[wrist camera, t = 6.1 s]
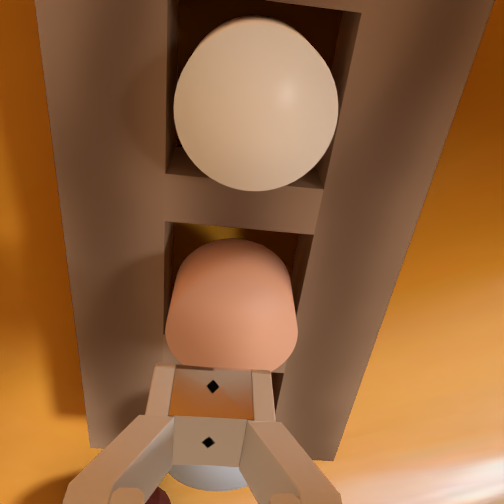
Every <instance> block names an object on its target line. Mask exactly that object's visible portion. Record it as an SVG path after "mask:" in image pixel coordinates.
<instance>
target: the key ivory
mask: <svg viewBox="0 0 504 504" xmlns="http://www.w3.org/2000/svg"><path fill="white" fill-rule="evenodd" d="M337 118H338V97H337V90H336V86H335V82H334V79H333V77H332V74H331V72H330V70H329V68H328V66H327V65H326V63H325V61H324V60H323V58H322V57H321V56H320V54H319V53H318V52H317V51H316V50H315V49H314V47H313V46H312V45H311V44H310V43H309V42H308V41H307V40H306V39H305V38H304V37H303V36H302V35H301V34H300V33H299V32H298V31H297V30H296V29H294V28H293V27H292V26H290V25H288V24H286V23H285V22H283V21H280V20H278V19H275V18H272V17H267V16H259V15H250V16H242V17H238V18H234V19H231V20H229V21H226V22H224V23H222V24H221V25H219V26H217V27H216V28H214V29H213V30H212V31H211V32H209V33H208V34H207V35H206V36H205V37H204V38H203V39H202V40H201V42H200V43H199V45H198V46H197V47H196V49H195V51H194V52H193V54H192V55H191V57H190V59H189V60H188V62H187V64H186V65H185V67H184V69H183V71H182V73H181V75H180V78H179V81H178V83H177V87H176V91H175V96H174V120H175V126H176V130H177V134H178V137H179V140H180V142H181V144H182V146H183V148H184V150H185V151H186V153H187V155H188V156H189V158H190V159H191V160H192V161H193V163H194V164H195V165H196V166H197V167H198V168H199V169H200V170H201V171H202V172H203V173H205V174H206V175H207V176H209V177H210V178H212V179H213V180H215V181H217V182H219V183H221V184H223V185H225V186H228V187H231V188H234V189H238V190H245V191H267V190H272V189H276V188H279V187H282V186H285V185H288V184H290V183H292V182H294V181H296V180H297V179H299V178H300V177H302V176H304V175H305V174H306V173H307V172H308V171H310V170H311V169H312V168H313V167H314V166H315V165H316V164H317V163H318V162H319V160H320V159H321V158H322V156H323V155H324V153H325V152H326V150H327V148H328V147H329V145H330V142H331V140H332V138H333V135H334V132H335V128H336V124H337Z"/></svg>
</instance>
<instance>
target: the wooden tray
mask: <svg viewBox="0 0 504 504" xmlns="http://www.w3.org/2000/svg"><path fill="white" fill-rule="evenodd" d="M34 1H35V9H36V17H37V25H38V33H39V41H40V49H41V57H42V65H43V73H44V81H45V89H46V97H47V105H48V113H49V121H50V129H51V137H52V145H53V153H54V161H55V169H56V177H57V185H58V193H59V201H60V209H61V217H62V225H63V233H64V241H65V249H66V257H67V265H68V273H69V281H70V289H71V297H72V305H73V313H74V321H75V329H76V337H77V345H78V353H79V361H80V369H81V377H82V385H83V393H84V400H85V408H86V416H87V424H88V432H89V440H90V448H101V449H105V448H106V447H107V446H108V445H109V444H110V443H111V442H112V441H113V440H114V439H115V438H116V437H117V436H118V435H119V434H120V433H121V432H122V431H123V430H124V429H125V428H126V427H127V426H128V425H129V424H130V423H131V422H132V421H133V420H134V419H135V418H136V417H137V416H138V415H145V412H146V407H147V402H148V397H149V392H150V387H151V383H152V378H153V373H154V368H155V366H156V363H162V364H173V365H176V364H177V365H182V364H181V363H180V362H179V361H178V360H177V359H176V358H175V356H174V355H173V354H172V352H171V350H170V349H169V346H168V344H167V340H166V334H165V329H166V322H167V317H168V313H169V308H170V303H171V299H172V273H173V232H174V222H180V223H191V224H202V225H213V226H224V227H234V228H245V229H256V230H267V231H278V232H289V233H299V237H298V242H297V248H296V253H295V258H294V263H293V268H292V273H291V278H290V281H291V287H292V294H293V301H294V307H295V314H296V320H297V327H298V336H297V342H296V345H295V348H294V350H293V352H292V353H291V355H290V356H289V357H288V359H287V360H286V361H285V362H284V363H283V364H282V365H280V366H279V367H278V368H276V369H275V370H273V371H272V376H271V378H272V388H273V398H274V408H275V418H276V422H282V424H283V425H284V426H285V427H286V428H287V430H288V431H289V432H290V433H291V435H292V436H293V437H294V438H295V439H296V441H297V442H298V443H299V444H300V446H301V447H302V448H303V449H304V450H305V452H306V453H307V454H308V455H309V457H310V458H311V459H312V460H322V461H334V458H335V455H336V452H337V449H338V447H339V444H340V441H341V438H342V435H343V432H344V429H345V427H346V424H347V421H348V418H349V415H350V412H351V409H352V407H353V404H354V401H355V398H356V395H357V392H358V389H359V387H360V384H361V381H362V378H363V375H364V372H365V369H366V367H367V364H368V361H369V358H370V355H371V352H372V349H373V347H374V344H375V341H376V338H377V335H378V332H379V329H380V327H381V324H382V321H383V318H384V315H385V312H386V309H387V307H388V304H389V301H390V298H391V295H392V292H393V289H394V287H395V284H396V281H397V278H398V275H399V272H400V269H401V267H402V264H403V261H404V258H405V255H406V252H407V249H408V247H409V244H410V241H411V238H412V235H413V232H414V229H415V227H416V224H417V221H418V218H419V215H420V212H421V210H422V207H423V204H424V201H425V198H426V195H427V192H428V190H429V187H430V184H431V181H432V178H433V175H434V172H435V170H436V167H437V164H438V161H439V158H440V155H441V152H442V150H443V147H444V144H445V141H446V138H447V135H448V132H449V130H450V127H451V124H452V121H453V118H454V115H455V112H456V110H457V107H458V104H459V101H460V98H461V95H462V92H463V90H464V87H465V84H466V81H467V78H468V75H469V72H470V70H471V67H472V64H473V61H474V58H475V55H476V52H477V50H478V47H479V44H480V41H481V38H482V35H483V32H484V30H485V27H486V24H487V21H488V18H489V15H490V12H491V10H492V7H493V4H494V1H495V0H267V1H275V2H282V3H290V4H298V5H305V6H313V7H321V8H328V9H336V10H343V12H342V17H341V22H340V27H339V33H338V38H337V43H336V48H335V53H334V58H333V63H332V68H331V74H332V77H333V79H334V82H335V86H336V90H337V97H338V118H337V124H336V128H335V132H334V135H333V138H332V140H331V142H330V145H329V147H328V148H327V150H326V152H325V153H324V155H323V156H322V158H321V159H320V160H319V162H318V163H317V164H316V165H315V166H314V167H313V168H312V169H311V170H310V171H308V172H307V173H306V174H305V175H304V176H302V177H300V178H299V179H297V180H296V181H294V182H292V183H290V184H288V185H285V186H282V187H279V188H276V189H272V190H267V191H245V190H238V189H234V188H231V187H228V186H225V185H223V184H221V183H219V182H217V181H215V180H213V179H212V178H210V177H209V176H207V175H206V174H205V173H203V172H202V171H201V170H200V169H199V168H198V167H197V166H196V165H195V164H194V163H193V161H192V160H191V159H190V158H189V156H188V155H187V153H186V151H185V150H184V148H182V147H176V126H175V120H174V96H175V91H176V87H177V67H178V25H179V0H34Z"/></svg>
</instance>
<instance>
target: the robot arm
mask: <svg viewBox="0 0 504 504" xmlns="http://www.w3.org/2000/svg"><path fill="white" fill-rule="evenodd" d="M172 465H211V466H225V467H239V470H240V472H241V474H242V476H243V477H244V479H245V481H246V483H247V484H248V486H249V488H250V490H251V492H252V493H253V495H254V497H255V499H256V500H257V502H258V504H342V501H341V496H340V493H339V492H338V491H337V490H336V488H335V487H334V486H333V485H332V484H331V482H330V481H329V480H328V479H327V477H326V476H325V475H324V474H323V473H322V471H321V470H320V469H319V468H318V466H317V465H316V464H315V463H314V462H313V460H312V459H311V458H310V457H309V455H308V454H307V453H306V452H305V450H304V449H303V448H302V447H301V446H300V444H299V443H298V442H297V441H296V439H295V438H294V437H293V436H292V435H291V433H290V432H289V431H288V430H287V428H286V427H285V426H284V425H283V424H282V422H276V418H275V408H274V398H273V388H272V378H271V372H270V371H269V370H254V369H251V370H250V369H237V368H217V367H213V368H211V367H200V366H189V365H177V364H176V365H173V364H162V363H156V366H155V368H154V373H153V378H152V383H151V387H150V392H149V397H148V402H147V407H146V412H145V415H138V416H137V417H136V418H135V419H134V420H133V421H132V422H131V423H130V424H129V425H128V426H127V427H126V428H125V429H124V430H123V431H122V432H121V433H120V434H119V435H118V436H117V437H116V438H115V439H114V440H113V441H112V442H111V443H110V444H109V445H108V446H107V447H106V448H105V449H104V450H102V451H101V452H100V453H99V454H98V455H97V456H96V457H95V458H94V459H93V460H92V461H91V462H90V463H89V464H88V465H87V466H86V467H85V468H84V469H83V470H82V471H81V472H80V473H79V474H78V475H77V476H76V477H75V478H74V479H73V480H72V481H71V482H70V483H69V484H68V487H67V490H66V493H65V496H64V499H63V502H62V504H145V503H146V501H147V500H148V499H149V497H150V496H151V495H152V493H153V492H154V491H155V489H156V488H157V486H158V485H159V484H160V482H161V481H162V480H163V478H164V477H165V476H166V474H167V473H168V471H169V470H170V469H171V467H172Z"/></svg>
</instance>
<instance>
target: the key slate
mask: <svg viewBox="0 0 504 504" xmlns="http://www.w3.org/2000/svg"><path fill="white" fill-rule="evenodd" d="M168 473H169V474H170V475H171V476H172V477H173V478H174V479H176V480H177V481H179V482H181V483H182V484H184V485H187V486H189V487H192V488H196V489H200V490H206V491H229V490H235V489H239V488H242V487H245V486H248V484H247V483H246V481H245V479H244V477H243V476H242V474H241V472H240V470H239V467H225V466H211V465H172V467H171V469H170V470H169V471H168Z"/></svg>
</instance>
